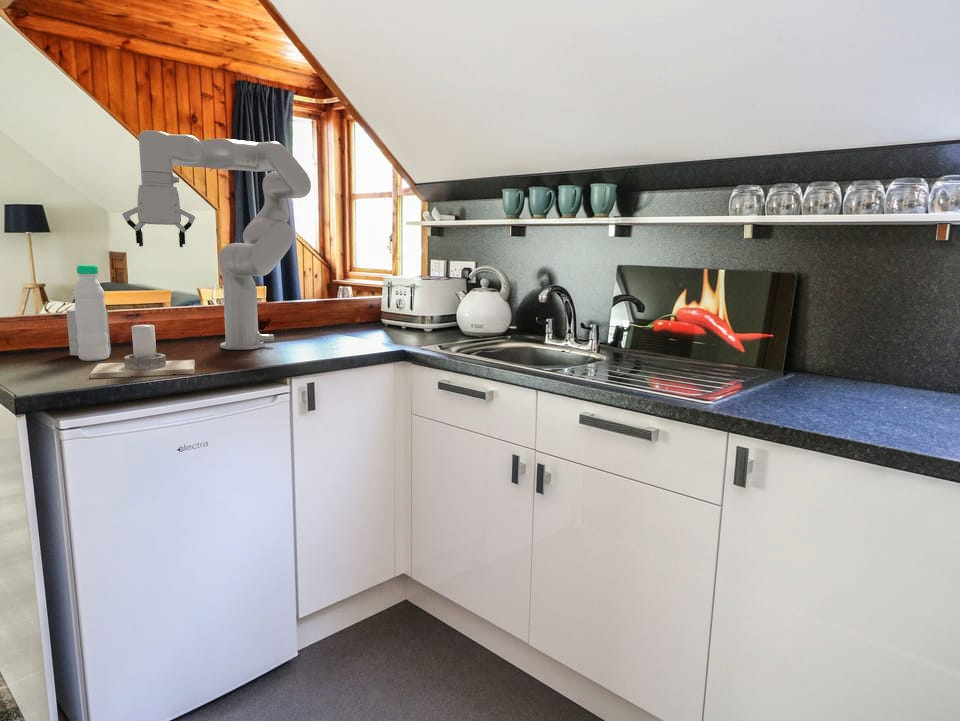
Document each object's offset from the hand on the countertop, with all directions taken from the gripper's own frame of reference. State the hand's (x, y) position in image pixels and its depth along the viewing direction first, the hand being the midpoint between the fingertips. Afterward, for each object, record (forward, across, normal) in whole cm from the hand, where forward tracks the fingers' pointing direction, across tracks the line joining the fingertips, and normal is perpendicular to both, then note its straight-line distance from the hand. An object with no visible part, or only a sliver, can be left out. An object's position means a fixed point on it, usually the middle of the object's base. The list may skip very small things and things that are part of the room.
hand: (161, 246), depth 172 cm
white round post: (+29, +4, +18) cm, 34 cm away
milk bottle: (+30, +18, -3) cm, 36 cm away
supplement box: (+31, +20, -11) cm, 38 cm away
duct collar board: (+30, +4, +18) cm, 35 cm away
